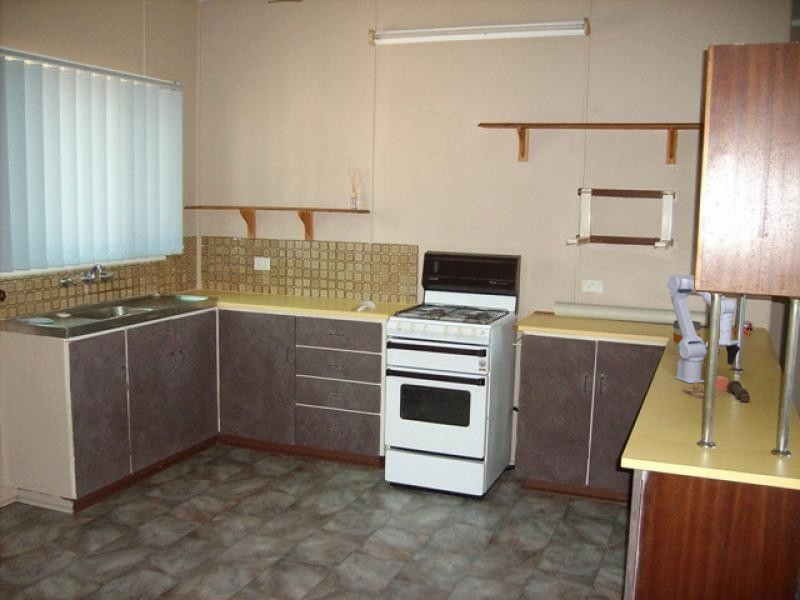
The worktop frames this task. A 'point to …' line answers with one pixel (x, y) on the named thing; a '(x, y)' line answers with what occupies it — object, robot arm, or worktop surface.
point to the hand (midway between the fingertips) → (722, 364)
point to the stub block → (695, 391)
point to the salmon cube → (721, 383)
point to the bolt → (738, 391)
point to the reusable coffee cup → (678, 335)
